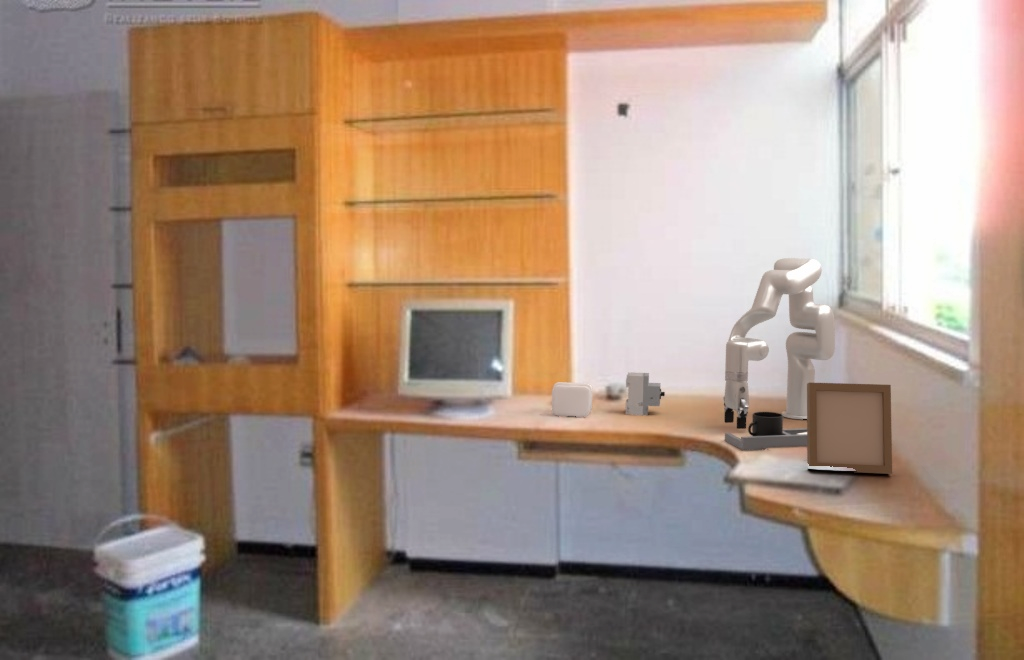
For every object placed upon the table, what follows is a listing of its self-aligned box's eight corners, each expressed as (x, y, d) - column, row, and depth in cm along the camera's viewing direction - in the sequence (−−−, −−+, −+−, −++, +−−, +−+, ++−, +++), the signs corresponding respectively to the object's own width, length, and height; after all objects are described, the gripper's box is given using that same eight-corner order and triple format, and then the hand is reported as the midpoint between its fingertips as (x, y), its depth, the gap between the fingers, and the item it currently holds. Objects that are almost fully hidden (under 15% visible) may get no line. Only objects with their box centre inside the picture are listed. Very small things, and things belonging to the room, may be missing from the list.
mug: (739, 440, 279) (740, 413, 278) (770, 437, 283) (770, 410, 282) (756, 446, 270) (757, 418, 269) (788, 443, 274) (789, 416, 273)
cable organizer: (549, 416, 317) (549, 385, 315) (553, 411, 327) (553, 381, 326) (589, 418, 314) (589, 387, 312) (592, 412, 324) (593, 382, 323)
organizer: (812, 436, 284) (813, 425, 283) (834, 446, 271) (835, 434, 270) (724, 440, 278) (725, 428, 278) (742, 450, 265) (743, 437, 265)
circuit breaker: (663, 416, 317) (664, 376, 315) (625, 414, 320) (626, 375, 318) (664, 412, 324) (665, 373, 323) (626, 410, 327) (627, 372, 326)
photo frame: (892, 477, 235) (895, 387, 233) (809, 473, 239) (812, 385, 237) (879, 464, 249) (882, 380, 247) (801, 461, 253) (804, 377, 251)
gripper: (758, 380, 283) (756, 430, 285) (735, 372, 300) (734, 419, 302) (737, 380, 282) (735, 431, 284) (715, 372, 299) (714, 420, 301)
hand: (735, 425), depth 293 cm, fingers open, 9 cm apart
